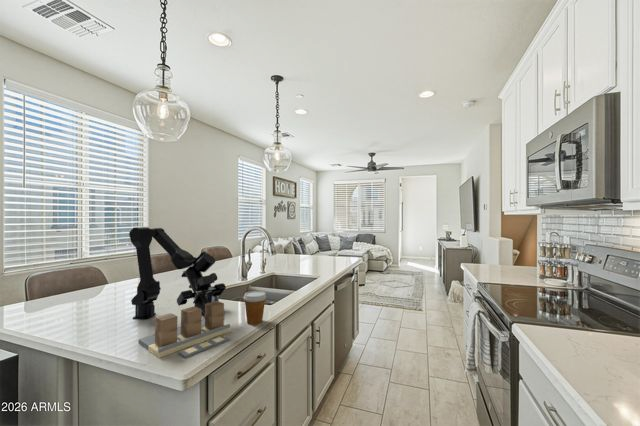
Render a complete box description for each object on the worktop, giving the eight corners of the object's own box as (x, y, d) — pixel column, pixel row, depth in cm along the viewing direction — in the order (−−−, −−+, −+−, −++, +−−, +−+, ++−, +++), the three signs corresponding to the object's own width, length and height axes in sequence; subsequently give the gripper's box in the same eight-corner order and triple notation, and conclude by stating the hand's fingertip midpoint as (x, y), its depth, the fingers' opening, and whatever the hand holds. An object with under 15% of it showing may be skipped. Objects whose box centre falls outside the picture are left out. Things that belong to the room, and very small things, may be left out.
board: (138, 343, 98) (138, 335, 98) (207, 321, 119) (207, 315, 119) (159, 357, 88) (159, 349, 88) (230, 331, 109) (230, 324, 109)
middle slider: (180, 334, 101) (181, 309, 101) (194, 330, 105) (194, 306, 105) (187, 338, 98) (188, 312, 98) (201, 333, 102) (201, 309, 102)
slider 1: (154, 343, 94) (155, 317, 94) (170, 338, 98) (170, 312, 98) (161, 348, 91) (161, 320, 91) (177, 342, 95) (177, 316, 95)
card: (178, 353, 91) (178, 351, 91) (222, 337, 104) (222, 335, 104) (185, 358, 88) (185, 355, 88) (229, 340, 101) (229, 338, 101)
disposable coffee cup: (245, 318, 123) (245, 290, 123) (267, 317, 124) (267, 290, 124) (241, 326, 114) (241, 297, 114) (264, 326, 114) (265, 296, 115)
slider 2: (204, 327, 108) (205, 303, 108) (216, 323, 112) (216, 300, 112) (212, 330, 105) (212, 306, 105) (223, 326, 109) (224, 303, 109)
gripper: (180, 270, 106) (195, 305, 100) (223, 264, 121) (239, 294, 114) (170, 288, 111) (184, 322, 104) (213, 279, 126) (227, 309, 119)
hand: (210, 311), depth 110 cm, fingers closed, pressing on slider 2
